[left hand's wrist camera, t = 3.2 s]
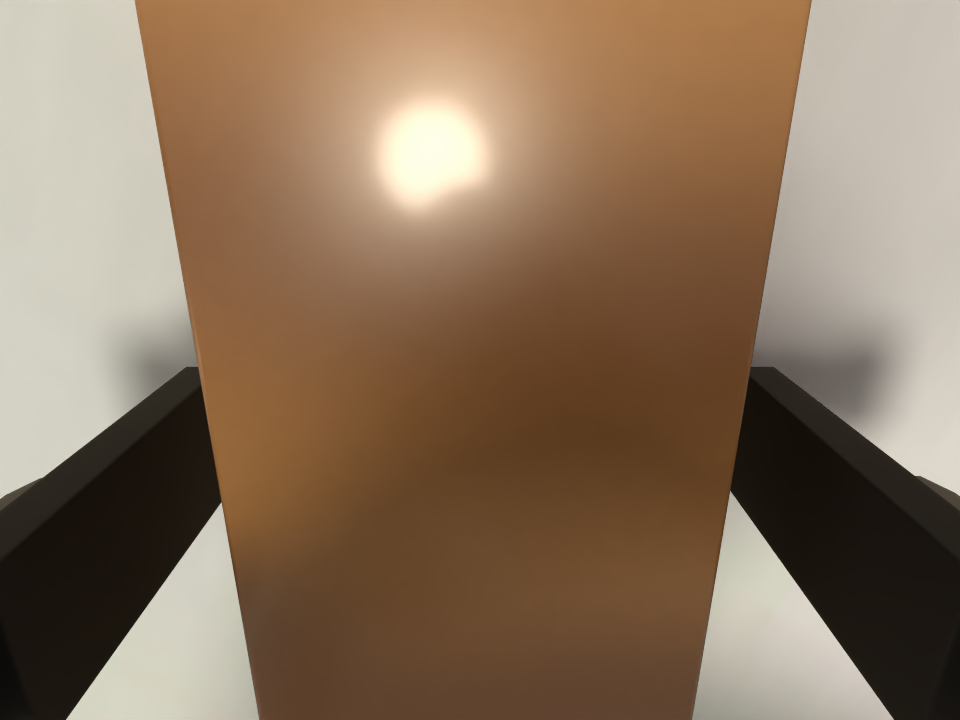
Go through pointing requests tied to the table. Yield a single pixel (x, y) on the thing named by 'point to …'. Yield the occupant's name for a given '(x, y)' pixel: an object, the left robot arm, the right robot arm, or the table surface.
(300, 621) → the bar
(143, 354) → the table surface
